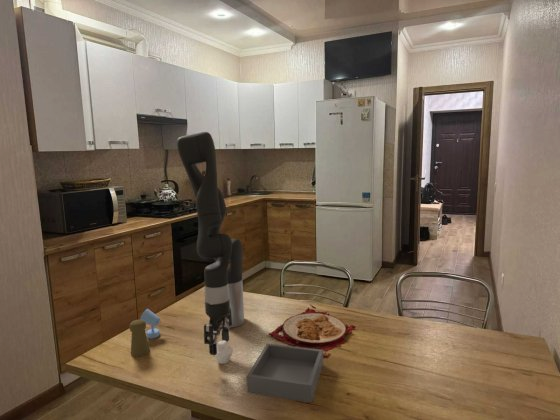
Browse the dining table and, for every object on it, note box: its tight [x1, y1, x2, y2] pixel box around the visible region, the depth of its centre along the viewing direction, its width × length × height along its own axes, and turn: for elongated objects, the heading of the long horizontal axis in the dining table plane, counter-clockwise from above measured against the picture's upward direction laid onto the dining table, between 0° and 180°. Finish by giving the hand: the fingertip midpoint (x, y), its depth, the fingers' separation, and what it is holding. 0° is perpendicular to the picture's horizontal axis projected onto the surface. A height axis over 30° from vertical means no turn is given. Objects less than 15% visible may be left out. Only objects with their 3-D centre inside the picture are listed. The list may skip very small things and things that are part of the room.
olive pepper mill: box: [129, 318, 151, 358], centre depth 127 cm, size 6×6×11 cm
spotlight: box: [139, 308, 161, 339], centre depth 139 cm, size 5×10×7 cm
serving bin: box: [246, 342, 324, 403], centre depth 110 cm, size 18×18×5 cm
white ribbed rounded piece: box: [213, 339, 234, 365], centre depth 120 cm, size 6×6×7 cm
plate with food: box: [267, 304, 357, 357], centre depth 138 cm, size 25×26×4 cm
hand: (219, 347), depth 120 cm, fingers open, 8 cm apart
